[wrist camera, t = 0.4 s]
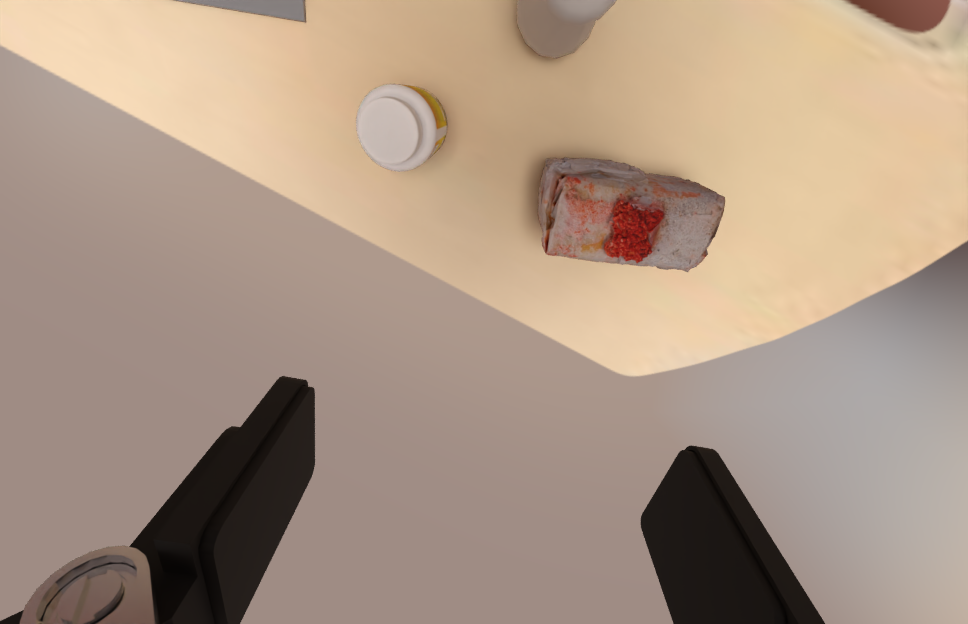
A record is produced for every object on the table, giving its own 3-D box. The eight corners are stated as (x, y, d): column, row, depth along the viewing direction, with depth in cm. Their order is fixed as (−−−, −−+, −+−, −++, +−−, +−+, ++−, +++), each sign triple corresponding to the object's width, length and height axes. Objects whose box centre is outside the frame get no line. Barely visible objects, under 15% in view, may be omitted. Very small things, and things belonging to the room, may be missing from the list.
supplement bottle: (388, 78, 33) (348, 69, 24) (454, 97, 34) (439, 96, 24) (379, 148, 36) (339, 164, 26) (440, 165, 36) (422, 187, 27)
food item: (527, 236, 39) (536, 275, 30) (540, 148, 35) (554, 164, 27) (666, 248, 39) (714, 291, 30) (692, 163, 36) (757, 183, 27)
